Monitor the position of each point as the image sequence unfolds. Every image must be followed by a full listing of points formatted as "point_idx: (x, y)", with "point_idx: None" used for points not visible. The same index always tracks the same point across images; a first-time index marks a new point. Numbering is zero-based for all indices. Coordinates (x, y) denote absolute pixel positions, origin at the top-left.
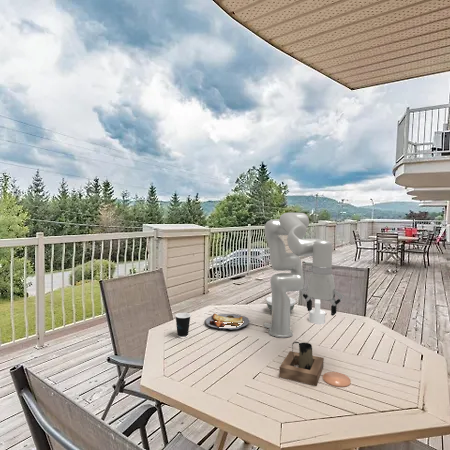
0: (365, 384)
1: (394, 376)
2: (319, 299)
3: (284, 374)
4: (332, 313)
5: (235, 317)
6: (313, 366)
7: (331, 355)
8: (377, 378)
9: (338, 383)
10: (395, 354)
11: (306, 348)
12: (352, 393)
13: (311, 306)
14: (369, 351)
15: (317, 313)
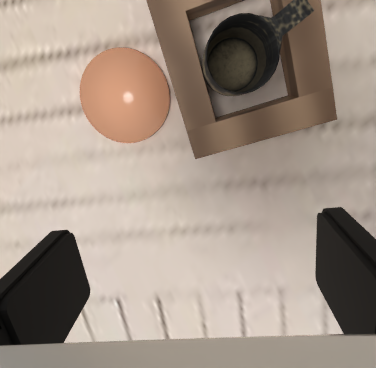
0: (54, 136)
1: (29, 237)
2: (152, 340)
3: None
4: (44, 240)
5: None
6: (190, 55)
7: (215, 247)
8: (51, 196)
9: (103, 68)
10: None
11: (220, 24)
12: (51, 50)
13: (331, 297)
14: (141, 336)
15: None
